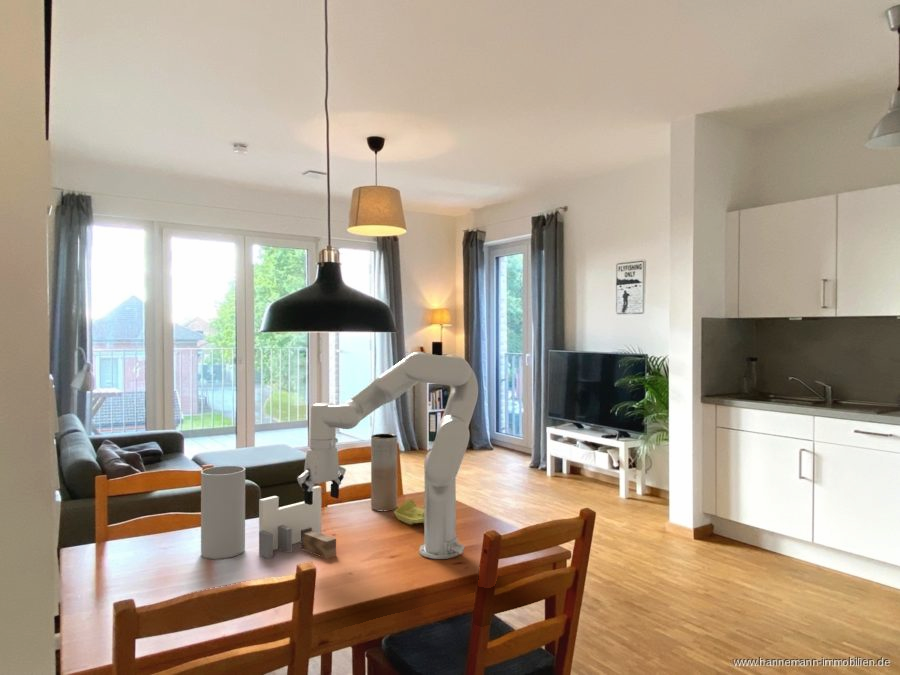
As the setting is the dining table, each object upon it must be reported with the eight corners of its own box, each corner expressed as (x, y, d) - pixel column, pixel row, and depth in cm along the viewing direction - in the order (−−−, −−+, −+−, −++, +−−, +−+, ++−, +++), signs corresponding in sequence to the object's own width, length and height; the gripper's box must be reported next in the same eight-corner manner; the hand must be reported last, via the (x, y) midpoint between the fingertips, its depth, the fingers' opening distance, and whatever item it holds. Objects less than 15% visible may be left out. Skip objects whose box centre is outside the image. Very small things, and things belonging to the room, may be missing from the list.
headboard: (330, 538, 189) (330, 489, 189) (268, 558, 172) (268, 504, 172) (317, 533, 194) (317, 485, 194) (255, 553, 176) (255, 500, 176)
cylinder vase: (222, 562, 169) (222, 476, 169) (191, 556, 174) (191, 472, 174) (253, 548, 180) (254, 468, 180) (223, 542, 185) (224, 464, 185)
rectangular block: (336, 555, 175) (336, 536, 175) (326, 558, 172) (326, 539, 172) (310, 545, 183) (310, 527, 183) (300, 548, 180) (300, 529, 180)
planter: (388, 502, 231) (388, 432, 231) (401, 508, 223) (402, 436, 223) (366, 507, 225) (366, 435, 225) (379, 513, 217) (379, 438, 217)
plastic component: (391, 512, 211) (412, 496, 216) (400, 529, 212) (421, 513, 217) (419, 522, 194) (441, 504, 200) (428, 540, 196) (449, 523, 201)
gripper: (337, 439, 185) (336, 493, 185) (291, 446, 172) (290, 504, 172) (353, 442, 180) (352, 497, 180) (306, 449, 167) (305, 509, 167)
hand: (321, 500), depth 176 cm, fingers open, 9 cm apart
